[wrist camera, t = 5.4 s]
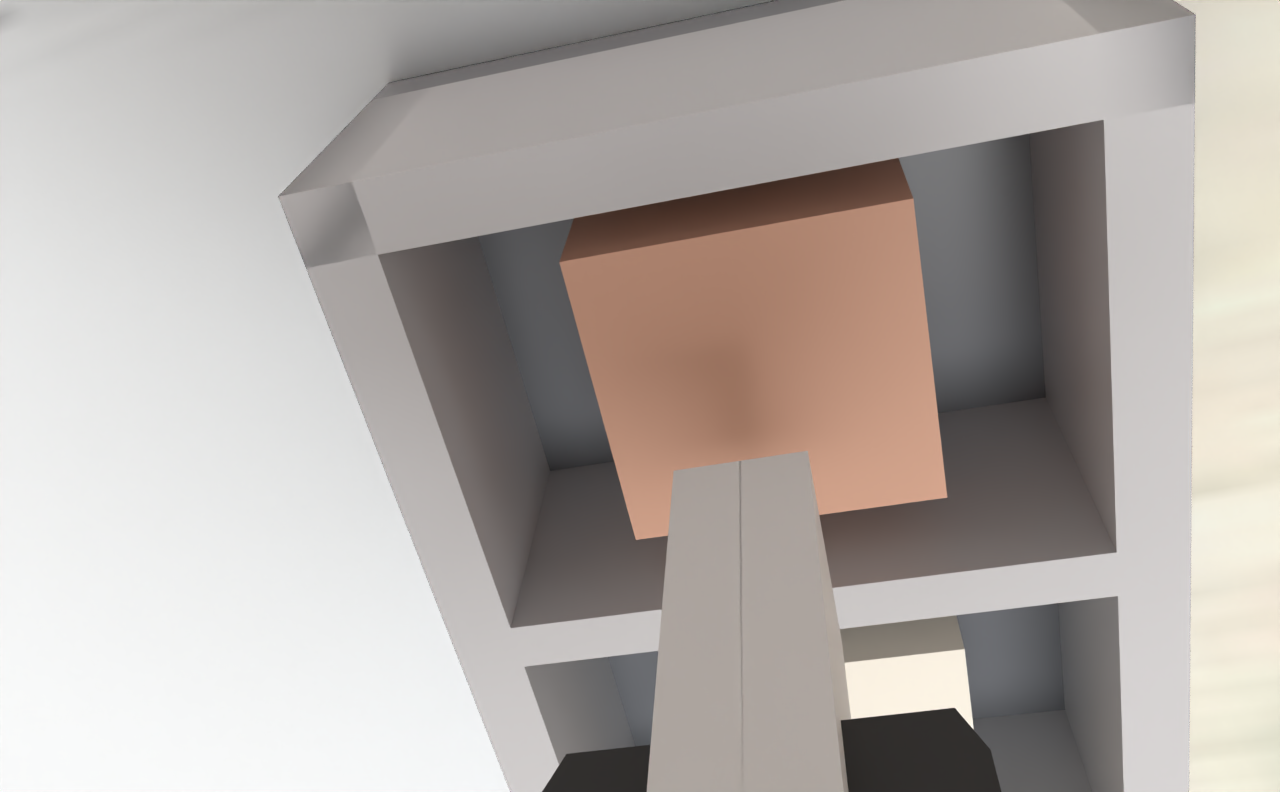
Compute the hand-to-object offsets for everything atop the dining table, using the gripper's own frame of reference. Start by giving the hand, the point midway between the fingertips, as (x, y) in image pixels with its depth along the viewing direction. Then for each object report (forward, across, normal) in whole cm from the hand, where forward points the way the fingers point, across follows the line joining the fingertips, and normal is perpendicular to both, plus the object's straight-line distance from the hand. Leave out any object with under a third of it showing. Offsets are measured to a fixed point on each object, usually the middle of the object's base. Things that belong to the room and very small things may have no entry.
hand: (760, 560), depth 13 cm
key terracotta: (+6, 0, 0) cm, 6 cm away
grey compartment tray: (+9, 0, -7) cm, 11 cm away
